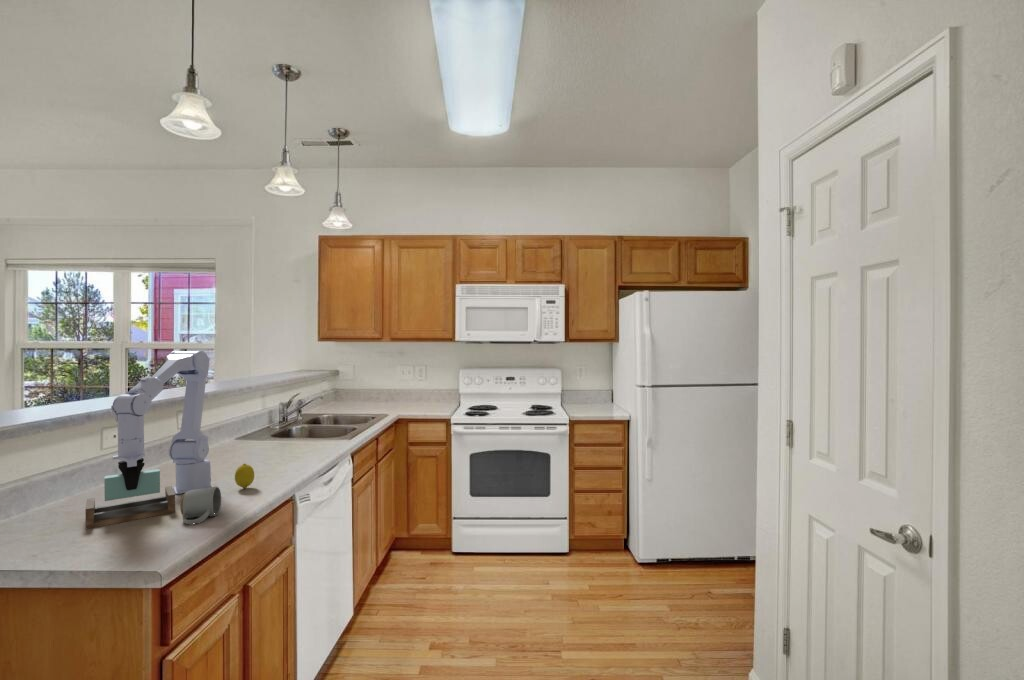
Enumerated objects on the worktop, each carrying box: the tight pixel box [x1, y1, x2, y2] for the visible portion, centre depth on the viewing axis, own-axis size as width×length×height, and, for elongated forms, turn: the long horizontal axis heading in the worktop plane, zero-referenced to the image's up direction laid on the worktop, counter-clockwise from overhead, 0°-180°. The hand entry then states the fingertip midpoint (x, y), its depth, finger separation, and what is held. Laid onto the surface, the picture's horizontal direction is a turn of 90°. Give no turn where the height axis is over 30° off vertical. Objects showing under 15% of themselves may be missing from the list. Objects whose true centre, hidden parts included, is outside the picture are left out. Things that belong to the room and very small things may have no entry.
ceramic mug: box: [179, 486, 222, 525], centre depth 136 cm, size 11×8×8 cm
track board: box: [85, 485, 176, 529], centre depth 138 cm, size 19×10×5 cm, turn 128°
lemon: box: [234, 463, 255, 489], centre depth 161 cm, size 6×6×8 cm
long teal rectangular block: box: [104, 468, 161, 502], centre depth 138 cm, size 12×3×6 cm, turn 128°
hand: (131, 487), depth 138 cm, fingers closed on long teal rectangular block, 3 cm apart
